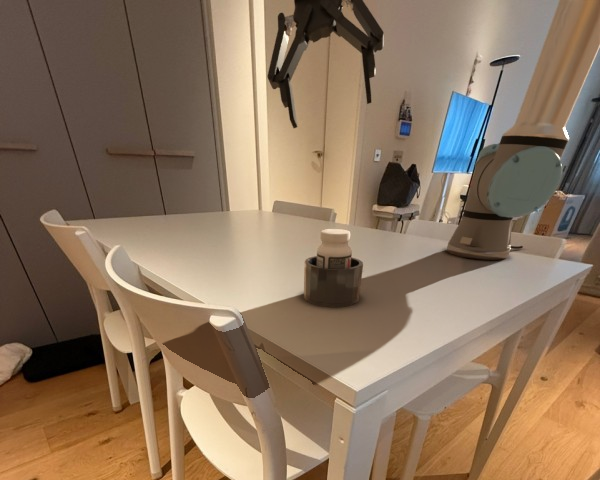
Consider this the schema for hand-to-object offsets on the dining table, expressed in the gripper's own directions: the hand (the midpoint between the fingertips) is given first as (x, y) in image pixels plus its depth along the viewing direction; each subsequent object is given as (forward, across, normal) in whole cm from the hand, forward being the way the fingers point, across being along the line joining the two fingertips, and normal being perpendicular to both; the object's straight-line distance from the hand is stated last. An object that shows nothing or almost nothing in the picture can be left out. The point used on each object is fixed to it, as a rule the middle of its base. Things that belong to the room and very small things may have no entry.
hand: (330, 111), depth 59 cm
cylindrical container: (+32, +3, +7) cm, 33 cm away
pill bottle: (+32, +3, +7) cm, 33 cm away
